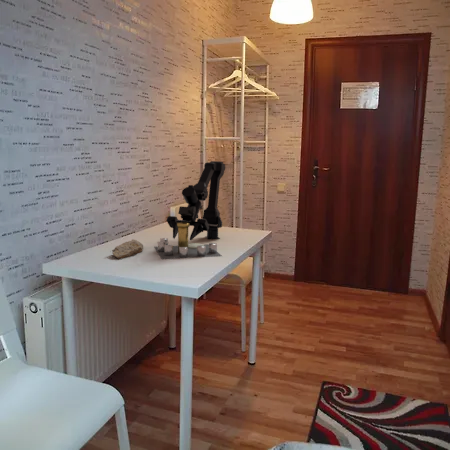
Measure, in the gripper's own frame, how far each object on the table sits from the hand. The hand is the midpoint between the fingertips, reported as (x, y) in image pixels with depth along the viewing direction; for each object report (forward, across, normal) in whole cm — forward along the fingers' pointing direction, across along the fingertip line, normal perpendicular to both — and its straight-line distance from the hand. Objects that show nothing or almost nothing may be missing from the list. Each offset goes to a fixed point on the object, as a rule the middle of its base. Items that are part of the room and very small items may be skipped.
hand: (181, 239), depth 193 cm
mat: (+2, +1, +8) cm, 8 cm away
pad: (-5, 0, +14) cm, 15 cm away
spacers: (+4, 0, +5) cm, 6 cm away
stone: (+12, -21, -2) cm, 24 cm away
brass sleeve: (+3, 0, +5) cm, 6 cm away
